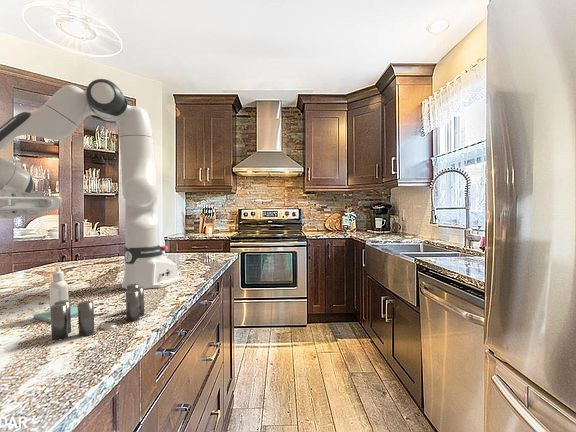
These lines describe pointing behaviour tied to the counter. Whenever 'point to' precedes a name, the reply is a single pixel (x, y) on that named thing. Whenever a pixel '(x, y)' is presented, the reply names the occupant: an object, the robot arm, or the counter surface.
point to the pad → (47, 315)
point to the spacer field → (92, 313)
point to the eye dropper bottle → (58, 288)
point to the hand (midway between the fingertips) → (32, 202)
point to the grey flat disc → (108, 326)
